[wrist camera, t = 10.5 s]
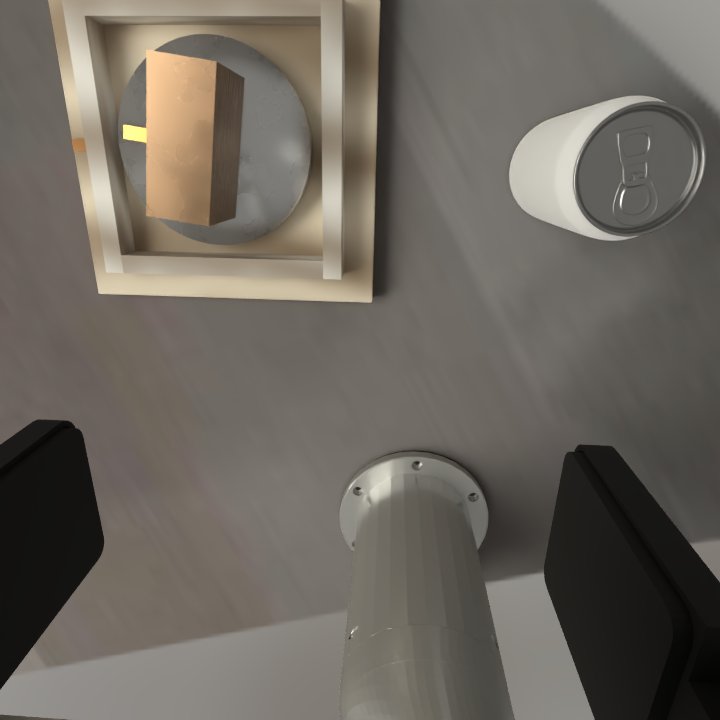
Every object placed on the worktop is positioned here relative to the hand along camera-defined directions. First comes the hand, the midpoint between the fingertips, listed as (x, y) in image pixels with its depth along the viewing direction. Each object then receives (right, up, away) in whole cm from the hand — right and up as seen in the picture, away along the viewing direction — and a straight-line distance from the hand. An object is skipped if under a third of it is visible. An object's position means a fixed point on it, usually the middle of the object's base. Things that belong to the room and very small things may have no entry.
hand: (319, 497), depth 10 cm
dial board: (-8, +17, +24) cm, 31 cm away
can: (+14, +15, +24) cm, 32 cm away
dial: (-8, +16, +23) cm, 29 cm away
